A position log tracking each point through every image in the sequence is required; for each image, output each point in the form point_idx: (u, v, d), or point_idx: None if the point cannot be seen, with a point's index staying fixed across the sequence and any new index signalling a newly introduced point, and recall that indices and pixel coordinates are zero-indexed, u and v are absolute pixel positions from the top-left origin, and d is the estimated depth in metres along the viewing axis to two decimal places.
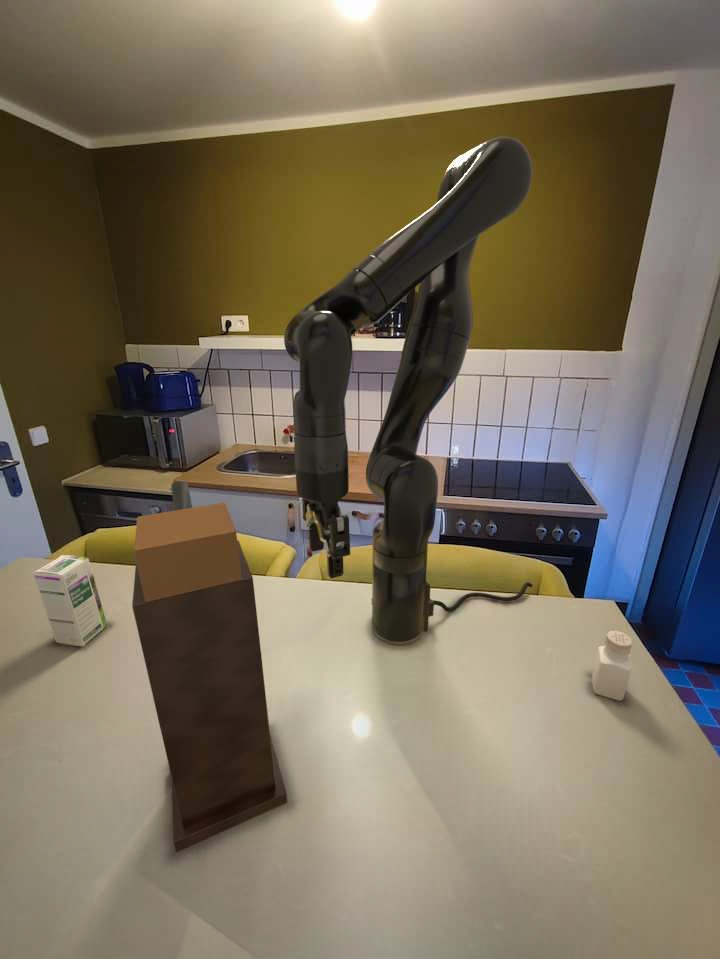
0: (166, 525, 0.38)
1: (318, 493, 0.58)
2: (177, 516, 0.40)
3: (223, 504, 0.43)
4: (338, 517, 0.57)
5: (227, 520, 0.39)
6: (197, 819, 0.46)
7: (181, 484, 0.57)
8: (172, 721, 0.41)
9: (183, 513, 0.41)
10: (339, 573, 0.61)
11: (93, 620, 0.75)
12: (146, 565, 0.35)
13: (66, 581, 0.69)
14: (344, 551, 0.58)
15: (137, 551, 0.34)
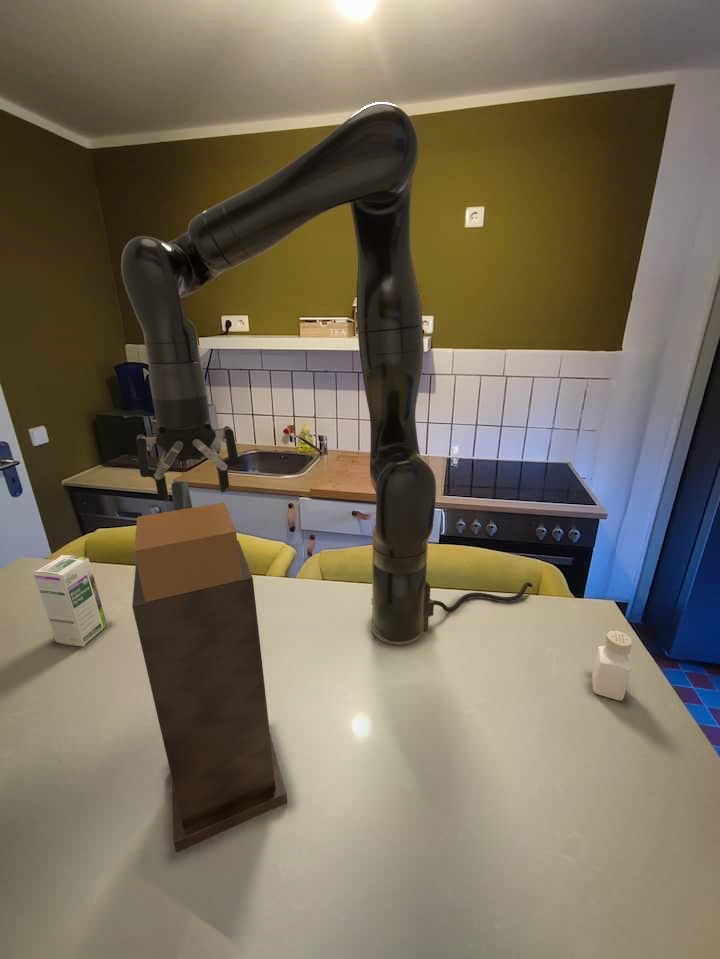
0: (166, 525, 0.38)
1: None
2: (177, 516, 0.40)
3: (223, 504, 0.43)
4: (139, 436, 0.63)
5: (227, 520, 0.39)
6: (197, 819, 0.46)
7: (181, 484, 0.57)
8: (172, 721, 0.41)
9: (183, 513, 0.41)
10: (158, 495, 0.66)
11: (93, 620, 0.75)
12: (146, 565, 0.35)
13: (67, 581, 0.69)
14: None
15: (137, 551, 0.34)
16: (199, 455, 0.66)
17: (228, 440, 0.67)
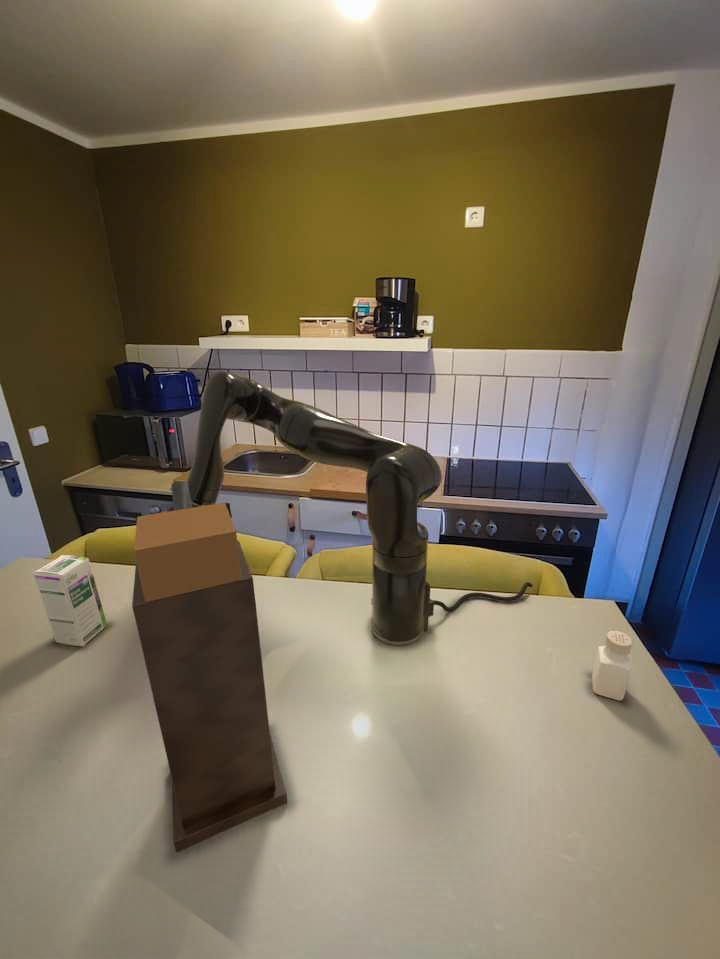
0: (166, 525, 0.38)
1: None
2: (177, 516, 0.40)
3: (223, 504, 0.43)
4: None
5: (227, 520, 0.39)
6: (197, 819, 0.46)
7: (181, 484, 0.57)
8: (172, 721, 0.41)
9: (183, 513, 0.41)
10: None
11: (93, 620, 0.75)
12: (146, 565, 0.35)
13: (67, 581, 0.69)
14: None
15: (137, 551, 0.34)
16: None
17: None
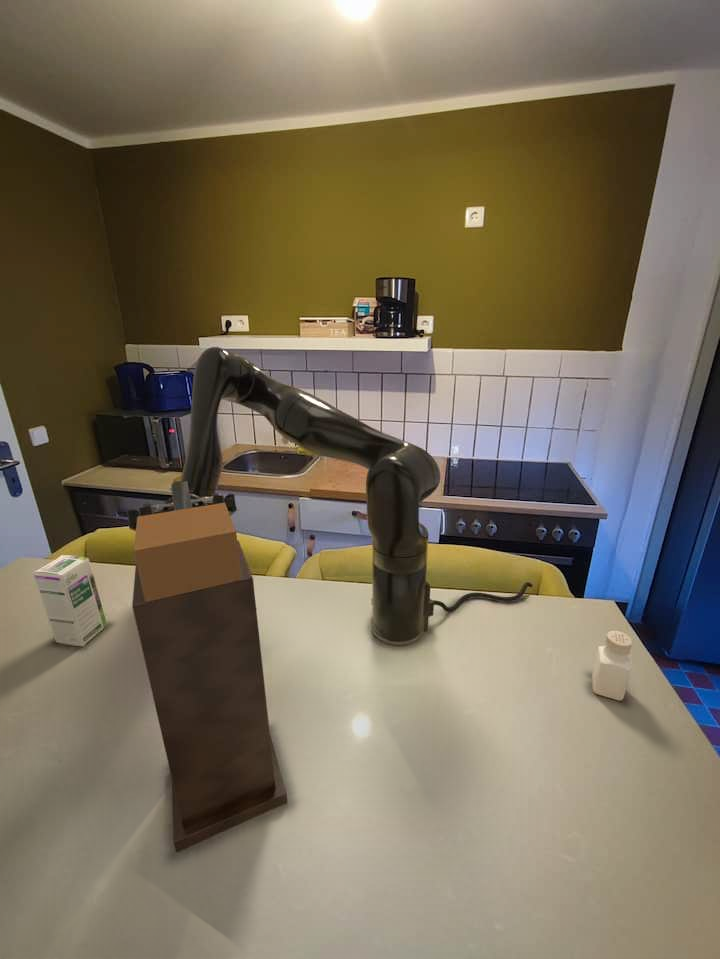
0: (166, 525, 0.38)
1: None
2: (177, 516, 0.40)
3: (223, 504, 0.43)
4: None
5: (227, 520, 0.39)
6: (197, 819, 0.46)
7: (181, 484, 0.57)
8: (172, 721, 0.41)
9: (183, 513, 0.41)
10: (139, 512, 0.55)
11: (93, 620, 0.75)
12: (146, 565, 0.35)
13: (67, 581, 0.69)
14: None
15: (137, 551, 0.34)
16: (193, 503, 0.63)
17: None
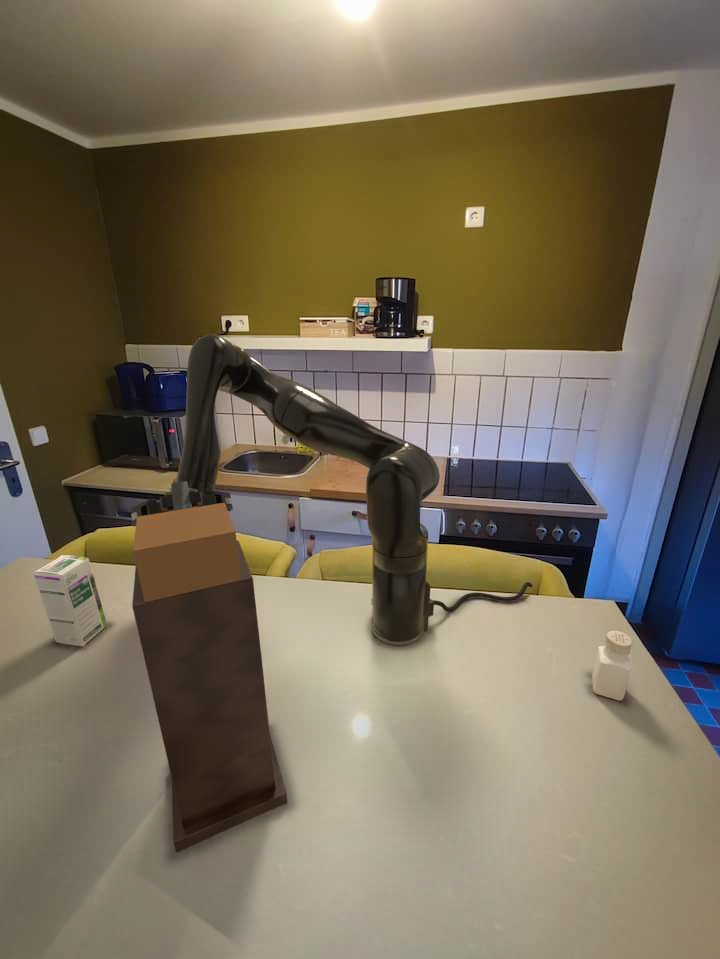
0: (165, 525, 0.38)
1: None
2: (177, 516, 0.40)
3: (223, 504, 0.43)
4: None
5: (226, 521, 0.39)
6: (197, 819, 0.46)
7: (181, 484, 0.57)
8: (172, 721, 0.41)
9: (183, 513, 0.41)
10: (160, 501, 0.51)
11: (93, 620, 0.75)
12: (146, 565, 0.35)
13: (67, 581, 0.69)
14: (147, 507, 0.54)
15: (136, 551, 0.34)
16: None
17: None
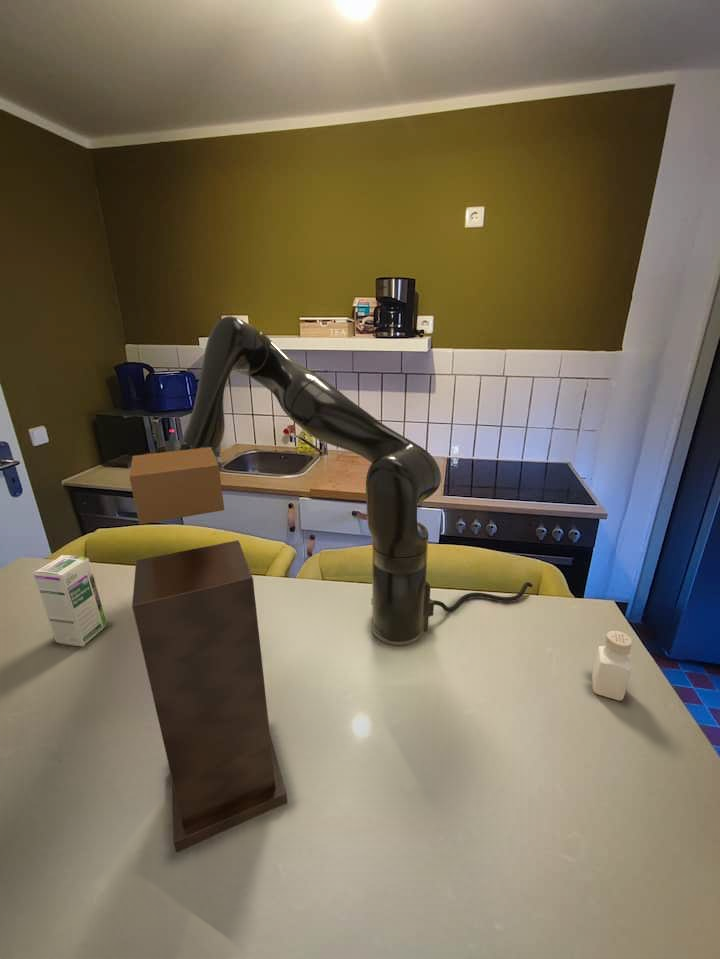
0: (158, 461, 0.44)
1: None
2: (168, 455, 0.46)
3: (209, 448, 0.48)
4: None
5: (211, 458, 0.45)
6: (197, 819, 0.46)
7: (174, 441, 0.62)
8: (172, 721, 0.41)
9: (173, 453, 0.46)
10: (154, 452, 0.56)
11: (93, 620, 0.75)
12: (140, 490, 0.40)
13: (67, 581, 0.69)
14: None
15: (132, 477, 0.40)
16: None
17: None
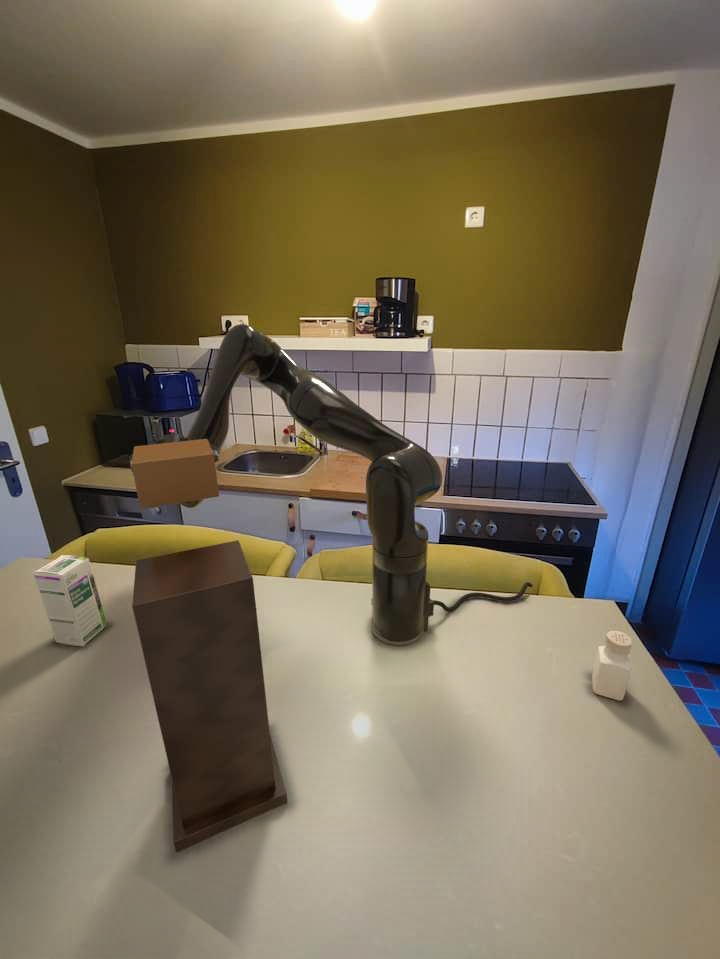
0: (157, 451, 0.47)
1: None
2: (167, 446, 0.49)
3: (205, 439, 0.52)
4: None
5: (207, 448, 0.48)
6: (197, 819, 0.46)
7: (173, 435, 0.65)
8: (172, 721, 0.41)
9: (172, 444, 0.50)
10: None
11: (93, 620, 0.75)
12: (141, 477, 0.44)
13: (67, 581, 0.69)
14: None
15: (133, 465, 0.43)
16: None
17: None
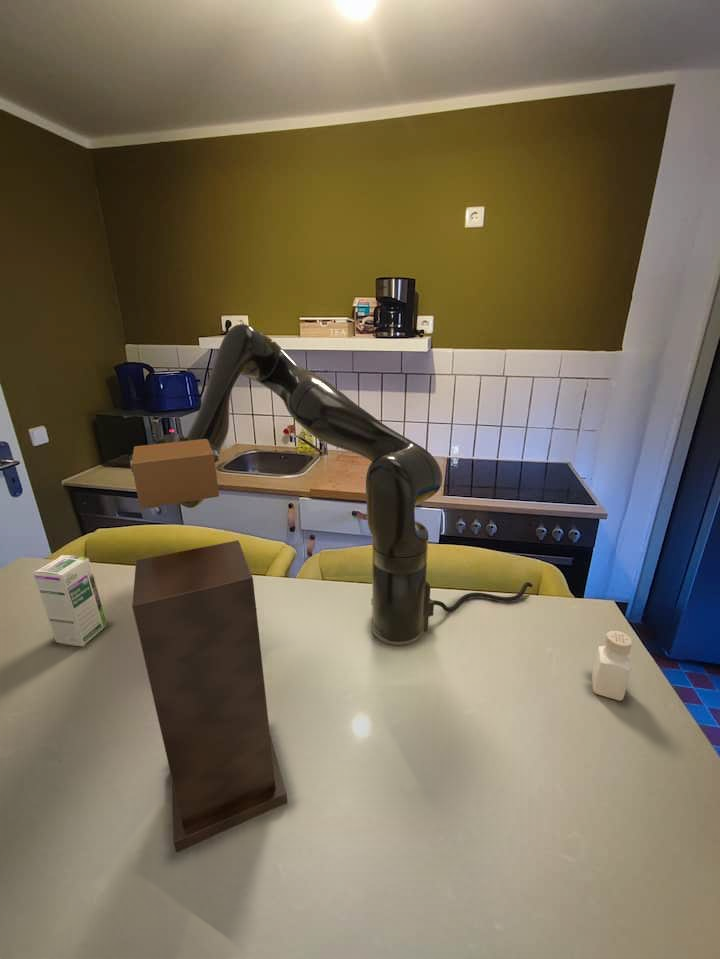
0: (157, 451, 0.47)
1: None
2: (167, 446, 0.49)
3: (205, 439, 0.52)
4: None
5: (207, 448, 0.48)
6: (197, 819, 0.46)
7: (173, 435, 0.65)
8: (172, 721, 0.41)
9: (172, 444, 0.50)
10: None
11: (93, 620, 0.75)
12: (141, 477, 0.44)
13: (67, 581, 0.69)
14: None
15: (133, 465, 0.43)
16: None
17: None
